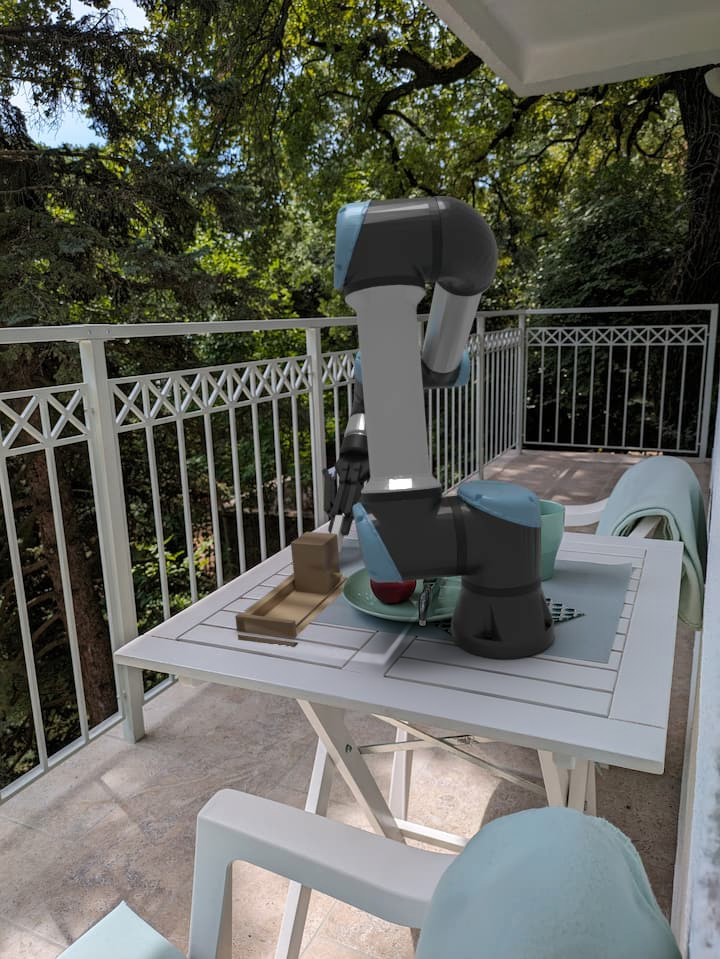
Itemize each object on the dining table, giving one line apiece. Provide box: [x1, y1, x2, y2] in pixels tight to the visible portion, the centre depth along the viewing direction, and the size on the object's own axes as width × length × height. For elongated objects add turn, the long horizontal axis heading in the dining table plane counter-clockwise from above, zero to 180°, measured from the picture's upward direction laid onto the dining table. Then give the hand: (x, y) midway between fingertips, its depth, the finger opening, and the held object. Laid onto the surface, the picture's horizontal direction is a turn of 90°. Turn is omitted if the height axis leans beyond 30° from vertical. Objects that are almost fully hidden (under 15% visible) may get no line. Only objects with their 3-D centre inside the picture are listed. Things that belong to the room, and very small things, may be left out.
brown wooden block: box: [290, 531, 343, 595], centre depth 128 cm, size 6×8×9 cm
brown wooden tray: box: [234, 572, 349, 648], centre depth 123 cm, size 24×10×4 cm, turn 157°
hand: (333, 549), depth 135 cm, fingers closed
